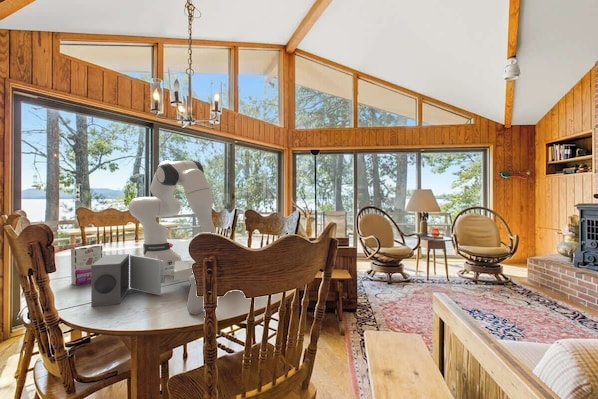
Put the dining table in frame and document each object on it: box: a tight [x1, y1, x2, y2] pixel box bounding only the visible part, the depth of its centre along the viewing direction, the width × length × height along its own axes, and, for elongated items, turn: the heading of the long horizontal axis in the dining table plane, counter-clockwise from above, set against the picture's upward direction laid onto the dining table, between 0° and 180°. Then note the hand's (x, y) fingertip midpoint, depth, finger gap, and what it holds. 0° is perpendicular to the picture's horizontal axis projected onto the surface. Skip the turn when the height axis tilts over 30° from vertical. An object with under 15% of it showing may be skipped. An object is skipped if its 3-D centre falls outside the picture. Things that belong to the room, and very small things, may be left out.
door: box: [129, 254, 165, 296], centre depth 125 cm, size 18×5×14 cm, turn 63°
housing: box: [90, 253, 130, 308], centre depth 116 cm, size 20×9×15 cm, turn 20°
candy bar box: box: [70, 243, 103, 286], centre depth 136 cm, size 11×5×16 cm, turn 148°
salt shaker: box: [186, 275, 204, 316], centre depth 103 cm, size 6×6×13 cm
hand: (162, 270), depth 125 cm, fingers open, 4 cm apart
